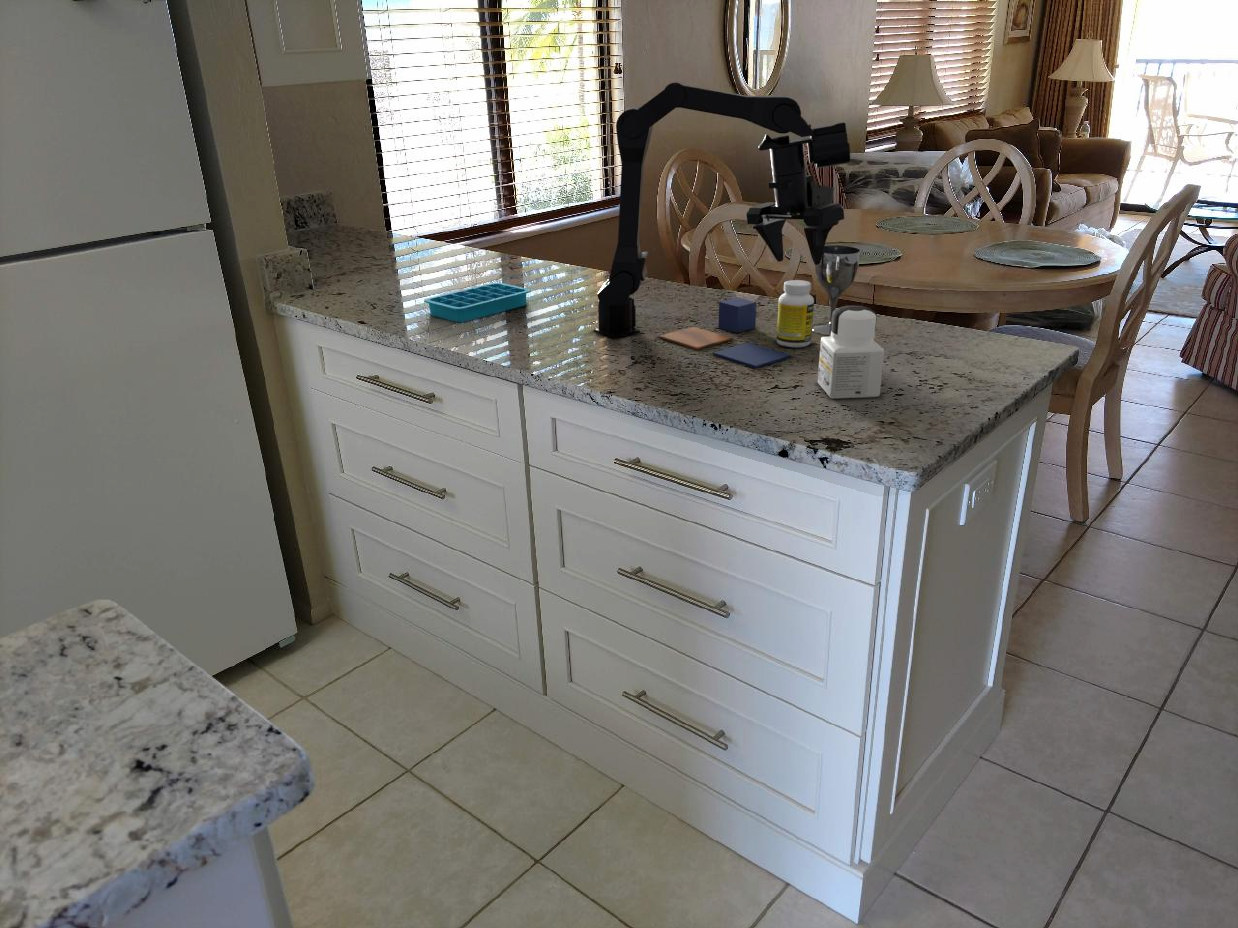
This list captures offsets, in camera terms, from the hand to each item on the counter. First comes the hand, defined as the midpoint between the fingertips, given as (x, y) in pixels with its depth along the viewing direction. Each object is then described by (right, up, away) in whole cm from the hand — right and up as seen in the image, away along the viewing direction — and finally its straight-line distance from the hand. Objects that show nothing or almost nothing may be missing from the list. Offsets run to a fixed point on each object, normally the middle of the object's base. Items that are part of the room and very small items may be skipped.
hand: (798, 262), depth 171 cm
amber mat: (-18, -13, +5) cm, 23 cm away
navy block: (-10, -10, +12) cm, 18 cm away
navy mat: (-9, -17, -5) cm, 20 cm away
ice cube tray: (-61, -4, +26) cm, 66 cm away
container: (+4, -25, -21) cm, 33 cm away
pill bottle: (-1, -14, +2) cm, 15 cm away
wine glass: (+8, -11, +10) cm, 17 cm away
